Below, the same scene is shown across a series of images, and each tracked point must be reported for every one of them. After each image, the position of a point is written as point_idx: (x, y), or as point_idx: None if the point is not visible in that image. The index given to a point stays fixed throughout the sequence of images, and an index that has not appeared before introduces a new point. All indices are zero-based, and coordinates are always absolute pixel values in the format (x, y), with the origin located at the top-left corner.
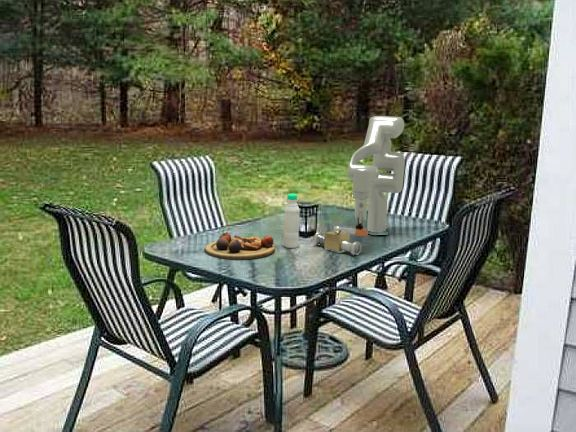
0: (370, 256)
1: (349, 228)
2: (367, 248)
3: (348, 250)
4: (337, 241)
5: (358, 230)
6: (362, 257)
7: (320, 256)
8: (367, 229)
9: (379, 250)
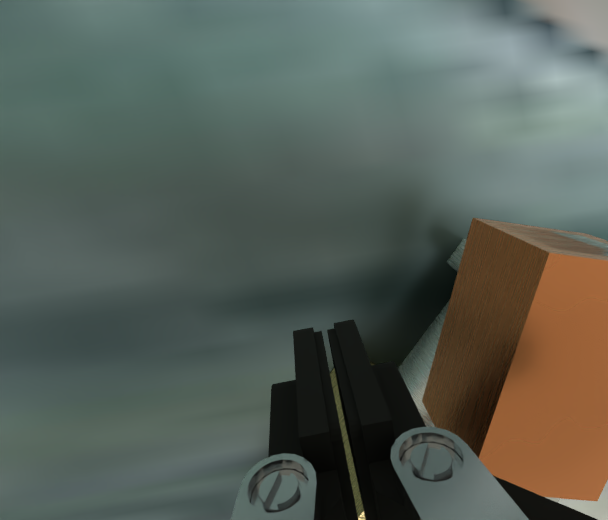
0: (488, 120)
1: None
2: (180, 197)
3: None
4: None
5: (606, 430)
6: (540, 196)
7: (565, 502)
8: (584, 260)
9: (207, 47)
